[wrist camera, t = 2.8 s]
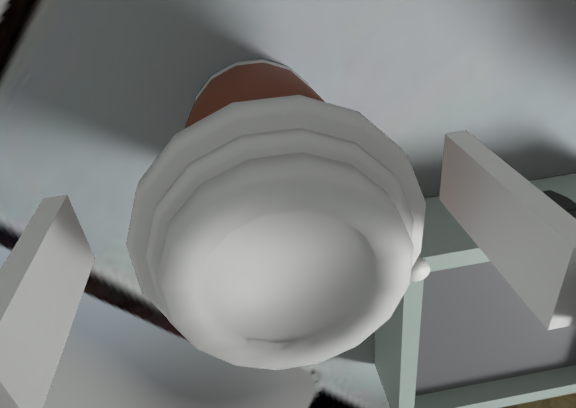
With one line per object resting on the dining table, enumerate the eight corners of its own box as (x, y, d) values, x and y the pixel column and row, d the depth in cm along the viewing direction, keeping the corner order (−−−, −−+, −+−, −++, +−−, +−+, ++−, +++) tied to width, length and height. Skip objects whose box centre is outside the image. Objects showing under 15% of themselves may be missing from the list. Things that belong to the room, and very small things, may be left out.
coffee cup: (360, 174, 25) (462, 345, 14) (203, 223, 25) (194, 425, 15) (324, 0, 20) (438, 75, 10) (128, 63, 20) (38, 201, 10)
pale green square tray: (554, 331, 34) (607, 393, 30) (373, 365, 33) (398, 434, 29) (605, 167, 27) (686, 215, 22) (372, 205, 26) (406, 264, 21)
